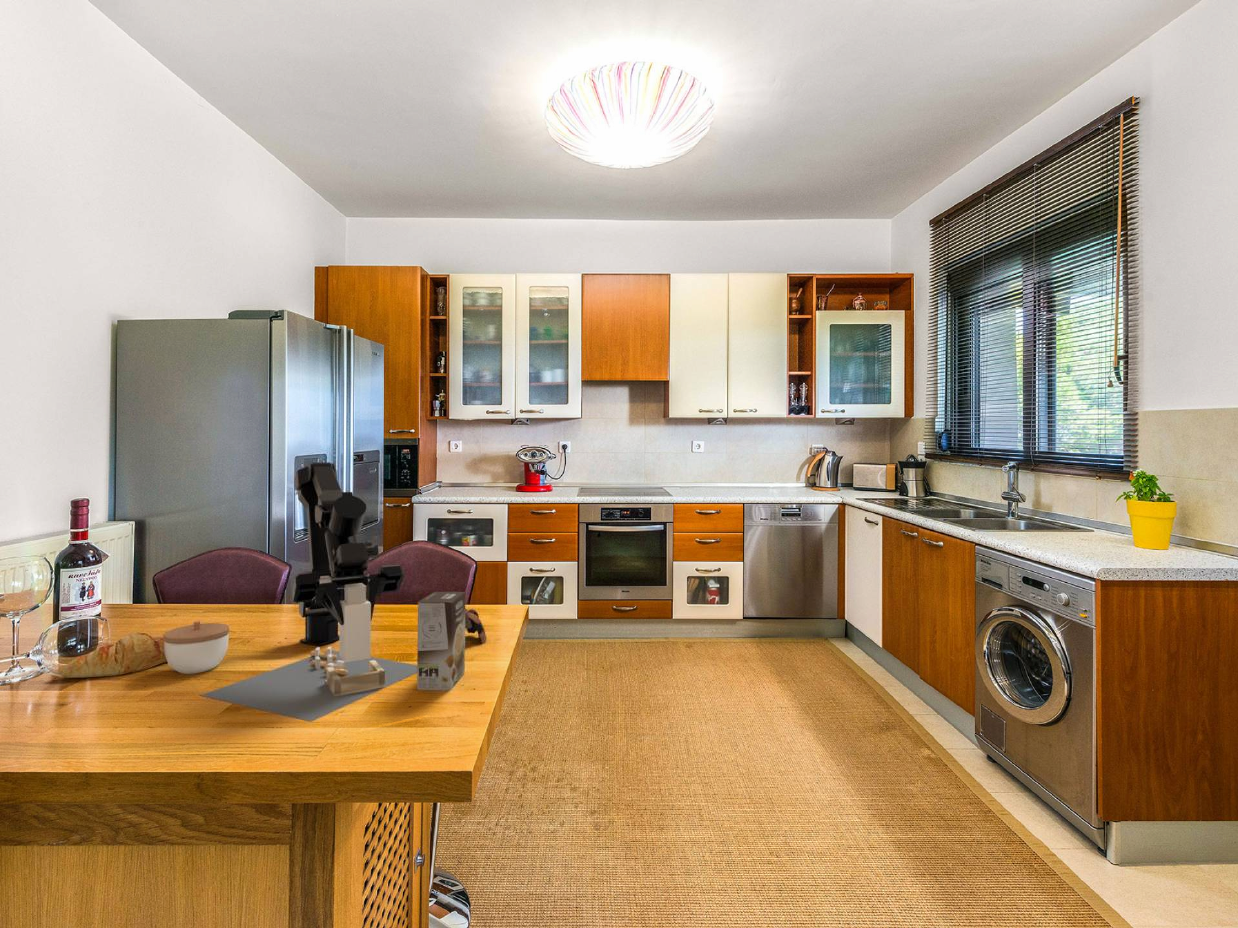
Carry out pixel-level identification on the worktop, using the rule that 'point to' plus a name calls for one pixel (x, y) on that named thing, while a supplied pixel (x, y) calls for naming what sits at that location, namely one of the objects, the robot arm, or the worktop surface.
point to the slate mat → (304, 688)
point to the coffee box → (441, 640)
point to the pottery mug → (474, 624)
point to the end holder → (356, 680)
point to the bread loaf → (118, 658)
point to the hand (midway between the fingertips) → (356, 621)
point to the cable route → (328, 661)
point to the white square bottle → (355, 624)
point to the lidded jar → (196, 646)
